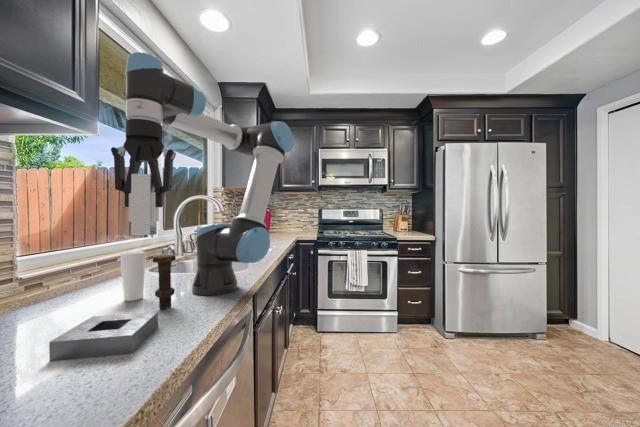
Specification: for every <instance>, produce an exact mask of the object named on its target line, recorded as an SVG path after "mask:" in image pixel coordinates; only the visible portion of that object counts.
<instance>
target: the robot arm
mask: <svg viewBox="0 0 640 427" xmlns="http://www.w3.org/2000/svg"><path fill="white" fill-rule="evenodd" d="M125 99H126V100H125V119H126V121H125V142H124V143H123V145H121V146H117V147H114V146H113V147H111V148H110V151H111V154H112V156H113V164H114V165H113V166H114V170H113V171H114V189H115V190H116V191H120V192H122V193H123V194H124V207H125V208H128V222H130V223H131V174H139V171H140V168H141V166H142V163H147V164H148V165H149V166H148V167H149V170H150V174H151V175H152V180H153V185H154V190H155V191H154V192H155V193H156V194H155V193H151V221H157V222H159V221H160V220H159V219H160V216H159V214H160V209H159V208H163V206H164V194H165V193H168V192H172V189H173V173H174V172H173V168H174V160H175V158H176V154H177V153H176V151H175V150H173V149H171V148H170V149H169V148H167V147H165V145H164V144H163V140H164V139H163V134H164V133H163V124H164V125H165V126H166V125H167V126H169V127H172V128H175V129H178V130H180V131H184V132H187V133H189V134H191V135H196V136H199V137H201V138H203V139H206V140H209V141H212V142H215V143H218V144H220V145H223V146H224V147H225V148H226V149H228V150H230V151H232V152H235V153H239V154H242V155H246V156H249V157H250V156H251V157H254V160H253V165H252V168H251V171H250V175H249V179H248V182H247V186H246V189H245V193H244V196H243V200H242V202H241V203H242V204H241V207H240V210H239V213H238V214H239V215H237V216H235V217H233V218H232V221H231V223H229V222H225V223H224V222H223V223H216V224H215V223H214V224H213V223H212V224H207V225H202V226H199V227H198V228H197V230H196V237H195V239H196V262H197V264H196V265H197V266H196V267H197V269H196V273H195V276H194V278H193V279H194V280H193V282H192V286H191V287H192V288H191V290H192V293H193V294H194V295H199V296H213V295H222V294H227V293H231V292H233V291H235V290H238V288H239V287H238V279H237V276H236V275H235V274H236V273H235V271H234V268H233V263H234V262H235V263H242V264H250V263H251V264H255V263H258V262H260V261H261V260H263V259H264V258H265V257H266V255H268V251H269V250H270V247H271V238H270V233H269V231H268V230H267V228H268V227H267V225H266V223H265V218H266V214H267V210H268V205H269V201H270V198H271V194H272V193H271V192H272V190H273V185H274V182H275V179H276V173H277V170H278V165H279V164H281V163H282V162H283V161H284V158H285V155H286V154H287V153H289V152H291V151H292V150H293V148H294V144H295V143H294V137H293V134H292V130H291V128H290V127H289V125H288V124H287V123H285V122H284V121H281V120H280V121H279V120H278V121H271V122H269V123H268V122H267V123H262V124H257V125H252V126H240V125H237V124H231V125H230V124H228V123H226V122H224V121H221V120H219V119H217V118H214V117H212V116H211V115H207V114H205V113H203V112H204V111H205V109H206V107H207V100H206V99H207V98H206V96H205V94H204V92H203V91H201V90H200V89H198V88H196V86H193V85H191V84H188V83H187V82H184V81H182V80H180V79H177V78H175V77H173V76H171V75H170V74H168V73H165V72H164V64H163V62H162V61H161V60H160V59H159V58H158V57H157V56H155V55H152V54H149V53H146V52H142V51H141V52H140V51H138V52H132V53H130V54H129V55H128V56H127V58H126V64H125ZM126 152H127V153H128V155H129V156H130V157H129V165H128V170H127V174H126V161H125V156H126ZM161 155H163V157H164V162H163V163H164V164H163V181H162V176H161V173H160V167H159V160H158V159H159V158H160V156H161ZM237 287H238V288H237Z"/></svg>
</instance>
